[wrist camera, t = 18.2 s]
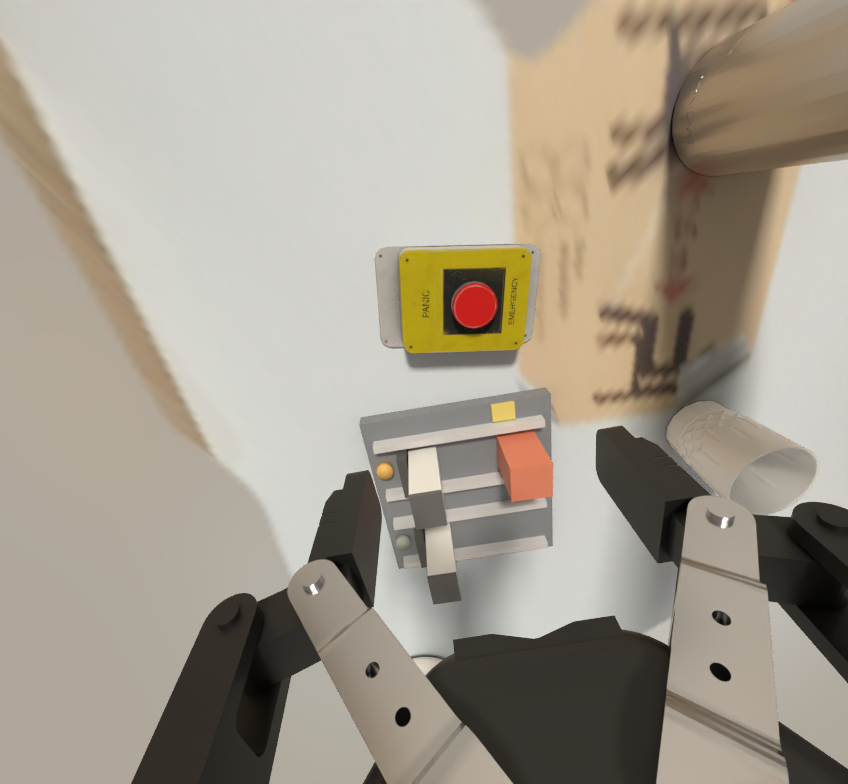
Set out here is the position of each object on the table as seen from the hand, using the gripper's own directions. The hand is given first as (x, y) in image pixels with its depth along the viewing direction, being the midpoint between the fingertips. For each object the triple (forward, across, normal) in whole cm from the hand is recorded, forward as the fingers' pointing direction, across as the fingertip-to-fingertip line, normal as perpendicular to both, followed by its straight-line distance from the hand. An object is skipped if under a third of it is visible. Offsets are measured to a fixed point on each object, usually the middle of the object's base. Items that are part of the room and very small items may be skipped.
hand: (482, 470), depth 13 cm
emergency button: (+25, -2, -1) cm, 25 cm away
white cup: (+25, -27, +19) cm, 41 cm away
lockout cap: (+23, -6, +16) cm, 29 cm away
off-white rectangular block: (+23, +4, +16) cm, 28 cm away
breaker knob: (+23, +5, +27) cm, 36 cm away
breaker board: (+25, 0, +21) cm, 33 cm away
